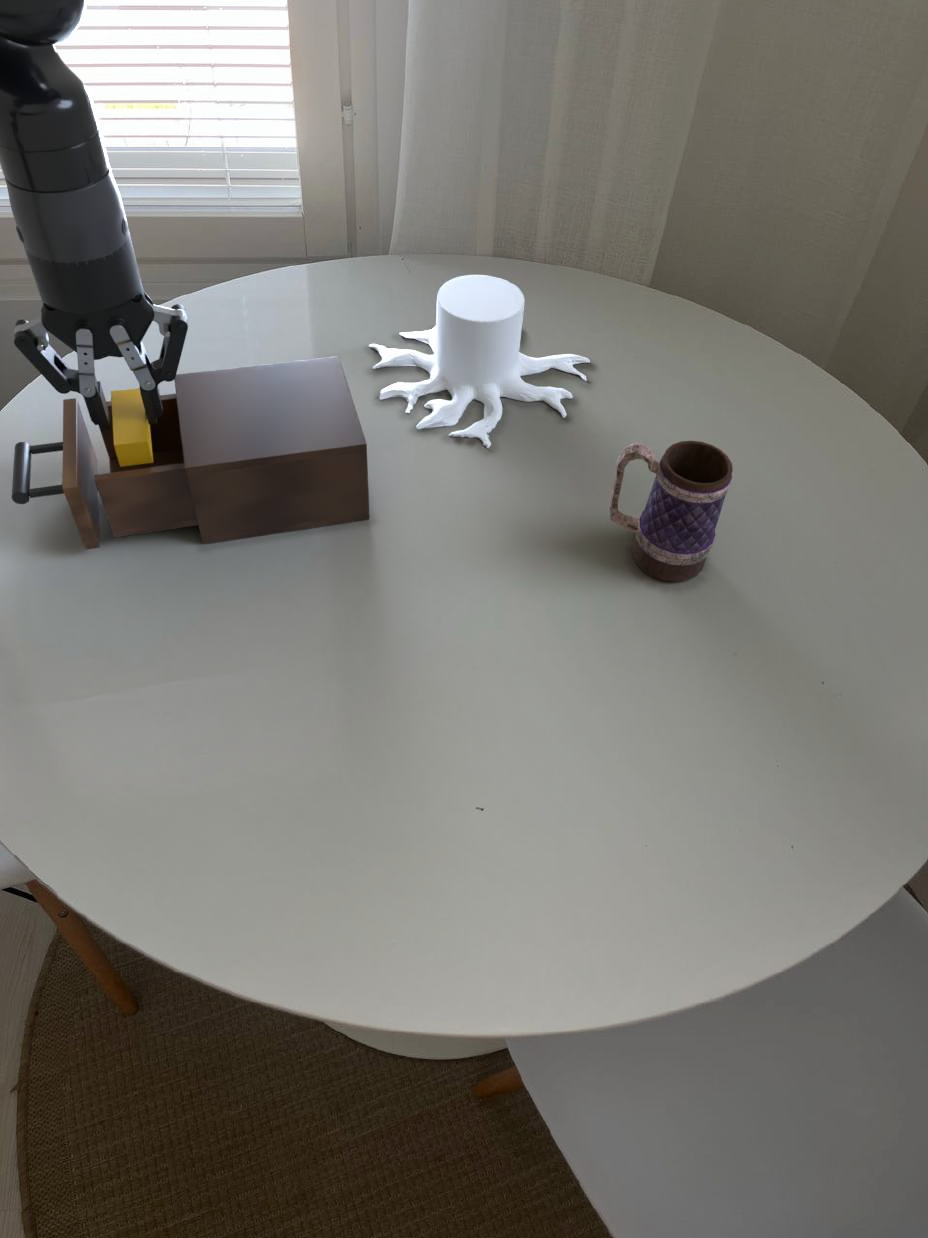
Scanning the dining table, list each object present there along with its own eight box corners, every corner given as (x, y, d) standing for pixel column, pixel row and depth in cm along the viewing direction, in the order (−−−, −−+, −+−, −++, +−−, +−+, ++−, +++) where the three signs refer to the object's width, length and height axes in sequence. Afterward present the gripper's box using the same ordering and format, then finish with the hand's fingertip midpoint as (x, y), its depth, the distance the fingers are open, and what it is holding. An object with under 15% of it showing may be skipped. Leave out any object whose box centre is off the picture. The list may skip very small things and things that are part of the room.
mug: (709, 541, 88) (745, 443, 78) (699, 593, 83) (735, 495, 74) (606, 515, 89) (629, 416, 80) (590, 564, 85) (613, 465, 76)
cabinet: (203, 544, 84) (184, 468, 77) (191, 450, 92) (173, 374, 85) (369, 519, 87) (366, 444, 80) (343, 431, 96) (338, 355, 89)
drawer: (27, 558, 81) (-1, 497, 75) (31, 467, 88) (6, 405, 83) (249, 525, 85) (238, 465, 79) (234, 441, 92) (223, 380, 87)
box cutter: (153, 462, 79) (147, 440, 77) (120, 467, 79) (113, 445, 77) (147, 402, 85) (142, 381, 83) (116, 406, 84) (110, 384, 82)
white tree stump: (336, 353, 104) (331, 278, 97) (512, 297, 114) (519, 225, 107) (442, 466, 93) (445, 389, 86) (628, 392, 102) (645, 318, 95)
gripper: (170, 201, 71) (207, 387, 84) (-24, 215, 68) (45, 405, 81) (177, 249, 66) (215, 437, 79) (-31, 267, 63) (44, 459, 76)
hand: (129, 420), depth 80 cm, fingers open, 3 cm apart
